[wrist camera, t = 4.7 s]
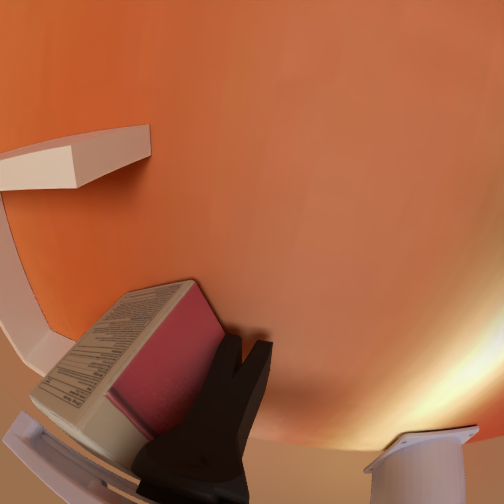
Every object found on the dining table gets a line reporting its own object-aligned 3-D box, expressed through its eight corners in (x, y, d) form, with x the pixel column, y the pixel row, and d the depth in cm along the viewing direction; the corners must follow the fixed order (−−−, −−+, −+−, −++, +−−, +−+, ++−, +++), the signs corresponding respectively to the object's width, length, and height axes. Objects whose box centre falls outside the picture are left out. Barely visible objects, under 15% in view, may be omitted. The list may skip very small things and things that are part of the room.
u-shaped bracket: (192, 392, 17) (170, 440, 14) (48, 335, 20) (24, 363, 17) (149, 124, 9) (70, 145, 6) (-12, 157, 12) (-55, 178, 9)
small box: (165, 349, 15) (90, 455, 9) (125, 290, 14) (24, 394, 7) (239, 349, 13) (163, 494, 7) (196, 275, 12) (72, 431, 5)
